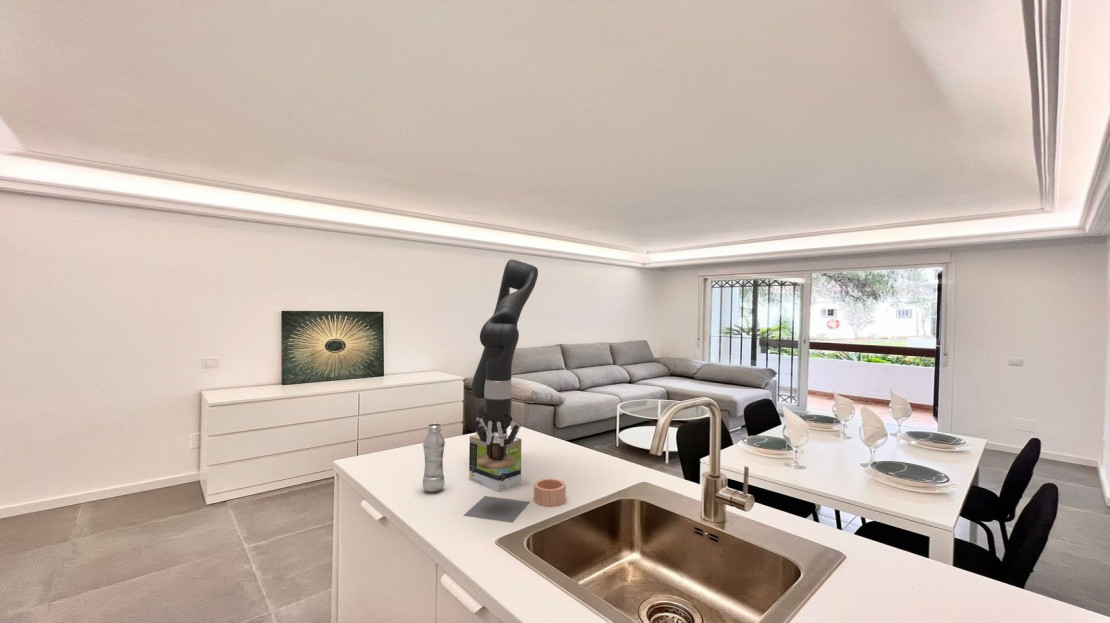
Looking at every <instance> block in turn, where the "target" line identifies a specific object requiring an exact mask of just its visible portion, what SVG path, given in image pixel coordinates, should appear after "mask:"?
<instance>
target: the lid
mask: <svg viewBox="0 0 1110 623" xmlns="http://www.w3.org/2000/svg"><path fill="white" fill-rule="evenodd" d="M499 446H500V443H493V444H492V458H488V456H487V454H484V455H481V456H479V457H478V458H477V465H478V466H480V467H482V468H485V469H505V468H509V467H512V466H513V465H514V464H515V457H514V456H512V455H510V454H506V456H505V457H504V458H503V459H502V460H501V459H499Z"/></svg>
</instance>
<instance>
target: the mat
mask: <svg viewBox="0 0 1110 623" xmlns="http://www.w3.org/2000/svg"><path fill="white" fill-rule="evenodd" d="M530 503H531V502H530V501H529V500H521V499H519V500H518V499H513V498H512V499H511V498H504V497H496V496H487V495H484V496H483V497H482V498H480V500H479V501H478V502H477V503H476V504H474V505H473V506H472V507H471V508H470V509H468V511H466V512H465V513H464V514H463V515H462V516H464V517H470V518H477V519H485V520H490V521H491V520H492V521H497V522H505V523H512V524H513V523H514V522H515V521H516V519H517V518H519V516H520V514H522V512H523V511H524V510H525V509H526V507H528V505H529V504H530Z"/></svg>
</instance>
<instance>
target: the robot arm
mask: <svg viewBox="0 0 1110 623" xmlns="http://www.w3.org/2000/svg"><path fill="white" fill-rule="evenodd" d="M502 273H503V274H502V278H501V281H500V282H501V283H500V286H499V291H498V297H497V301H496V305H495V308H494V312H493V315H492V316H491V317H490V318H489V319H487V321H486V322H485V323H484V324H483V326H482V327H481V329H480V333H479V341H480V343H481V345H482V346H483V351H482V354H481V357H480V360H479V362H478V365H477V368H476V370H475V373H474V375H473V379H472V383H471V384H472V385H471V391H472V395H473V396H474V397H475V398H477V399H484V400H483V404H482V405H481V406H479V407H478V408H477V409H476V420H475V421H474V422H473V425H474V427H475V430H476V434H475V435H477V434H478V435H479V438H480V440H481V441H482V442H485V443H486V444H487V456H488V458H492V444H493V442H494V436H495V433H498V437H499V439H500V446H499V459H501V460H502V459H503V458H504V457H505V456H506V445H509V444H510V443H512V442H513V441H514V439H515V437H516V438H517V434H518V433H519V431H520V429H521V427H522V426H521V423H517V422H515V420H513V417H512V402H513V400H512V396H513V385H512V367H513V366H512V365H513V360H514V354H515V352H516V348H517V346H518V343H519V337H520V333H519V332H520V331H519V330H518V323H519V320H520V316H521V314H522V311H523V308H524V306H525V305H526V303H527V301H528V299H529V298H530V296H531V294H532V292H533V291H534V289H535V286H536V283H537V280H538V276H539V269H538V267H537V266H535V265H533V264H529V263H526V262H524V261H519V260H517V259H513V258H511V259H509V260H508V261H507V263H506V264H505V266H504V270H503V272H502ZM511 289H512V290H513V289H514V290H516V291H514V292H510V290H511ZM508 428H510V430H511V431H510V433H509V435H508ZM507 435H508V436H509V437H508V439H507Z"/></svg>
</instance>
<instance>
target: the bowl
mask: <svg viewBox="0 0 1110 623" xmlns="http://www.w3.org/2000/svg"><path fill="white" fill-rule="evenodd" d="M566 489H567V484H566V483H565V481H564V480H561V479H556V478H543V479H539V480H536V481H535V482H534V483H533V501H534V503H535V504H537V505H538V506H542V507H558V506H561V505H563V504H564V503H565V502H566V498H567V495H566V492H567V490H566Z"/></svg>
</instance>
